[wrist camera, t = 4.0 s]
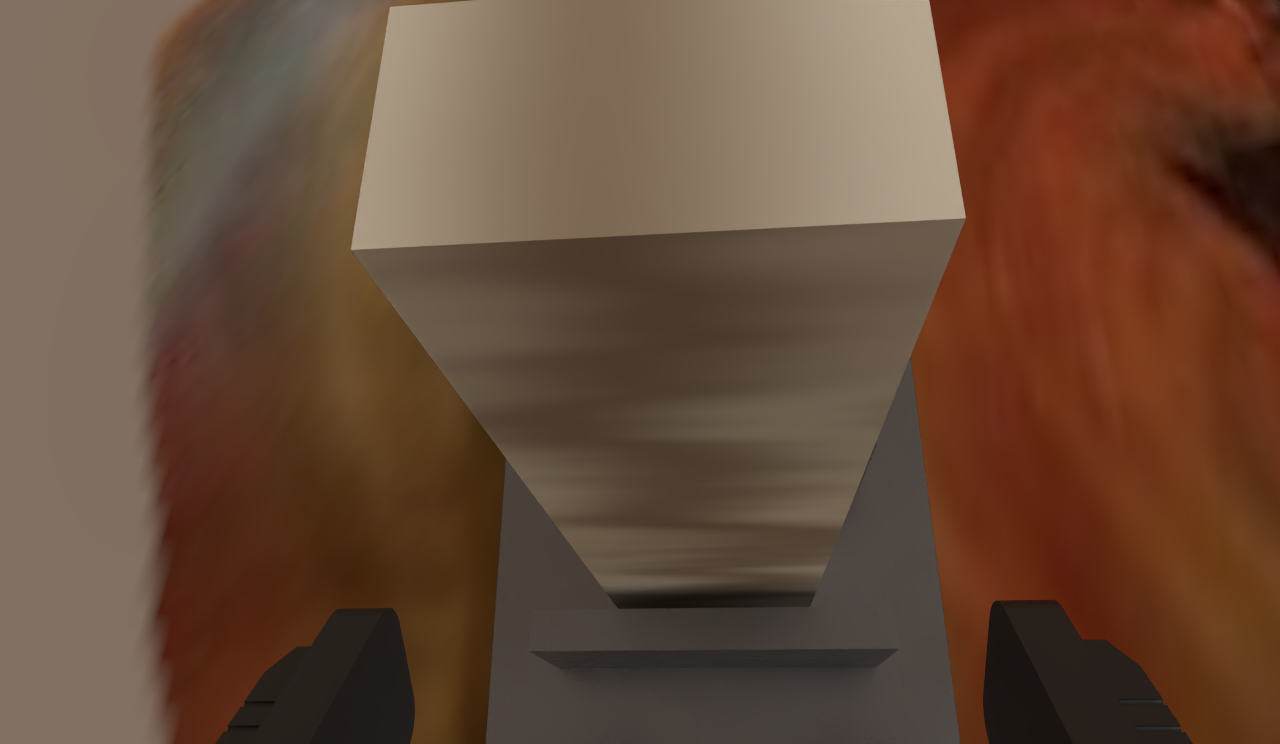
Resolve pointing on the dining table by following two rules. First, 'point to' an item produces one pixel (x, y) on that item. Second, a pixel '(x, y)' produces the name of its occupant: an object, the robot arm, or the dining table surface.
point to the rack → (733, 635)
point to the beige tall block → (668, 262)
